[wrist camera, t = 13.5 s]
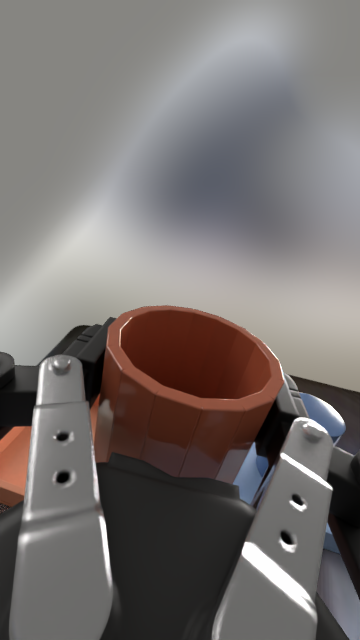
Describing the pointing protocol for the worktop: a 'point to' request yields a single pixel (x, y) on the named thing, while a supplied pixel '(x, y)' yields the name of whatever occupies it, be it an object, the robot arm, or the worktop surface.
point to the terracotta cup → (184, 392)
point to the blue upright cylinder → (321, 416)
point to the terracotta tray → (20, 460)
